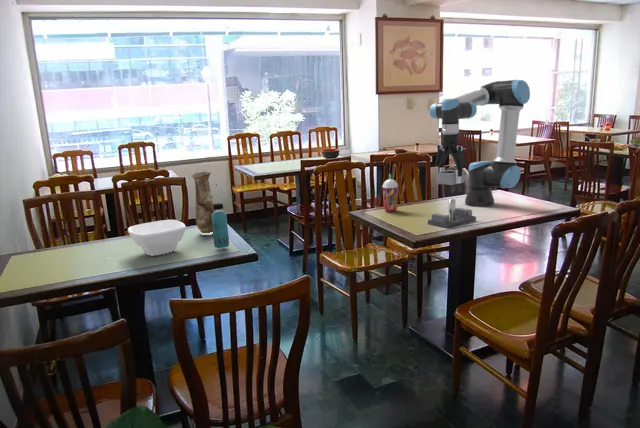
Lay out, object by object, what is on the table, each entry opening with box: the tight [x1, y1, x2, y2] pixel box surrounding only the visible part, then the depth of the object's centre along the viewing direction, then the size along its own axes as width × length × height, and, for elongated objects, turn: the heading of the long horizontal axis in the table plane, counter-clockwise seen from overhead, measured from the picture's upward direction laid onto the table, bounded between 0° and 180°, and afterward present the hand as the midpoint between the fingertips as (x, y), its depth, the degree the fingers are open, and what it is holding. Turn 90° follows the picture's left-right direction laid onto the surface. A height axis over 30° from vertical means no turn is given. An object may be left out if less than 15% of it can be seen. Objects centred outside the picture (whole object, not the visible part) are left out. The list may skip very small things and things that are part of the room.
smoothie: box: [382, 173, 399, 213], centre depth 261 cm, size 8×8×20 cm
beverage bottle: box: [211, 202, 230, 249], centre depth 208 cm, size 6×7×20 cm
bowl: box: [127, 219, 187, 257], centre depth 209 cm, size 22×22×12 cm
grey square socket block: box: [435, 169, 465, 186], centre depth 230 cm, size 9×9×5 cm
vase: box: [190, 170, 217, 233], centre depth 235 cm, size 10×11×30 cm
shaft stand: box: [427, 198, 477, 230], centre depth 233 cm, size 20×12×11 cm, turn 125°
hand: (450, 182), depth 230 cm, fingers closed on grey square socket block, 9 cm apart
